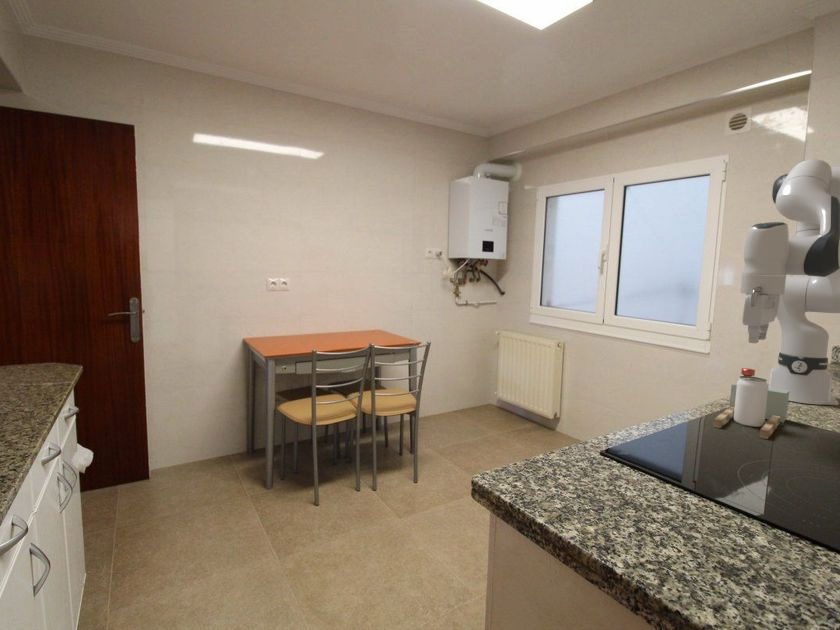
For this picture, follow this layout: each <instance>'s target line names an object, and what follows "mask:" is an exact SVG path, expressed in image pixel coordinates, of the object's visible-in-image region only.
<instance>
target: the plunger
mask: <svg viewBox="0 0 840 630" xmlns="http://www.w3.org/2000/svg"><path fill="white" fill-rule="evenodd" d="M755 372H756V370H755V369H753V368H747V367H742V368H741V371H740V374H741V376H753V377H755Z"/></svg>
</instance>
